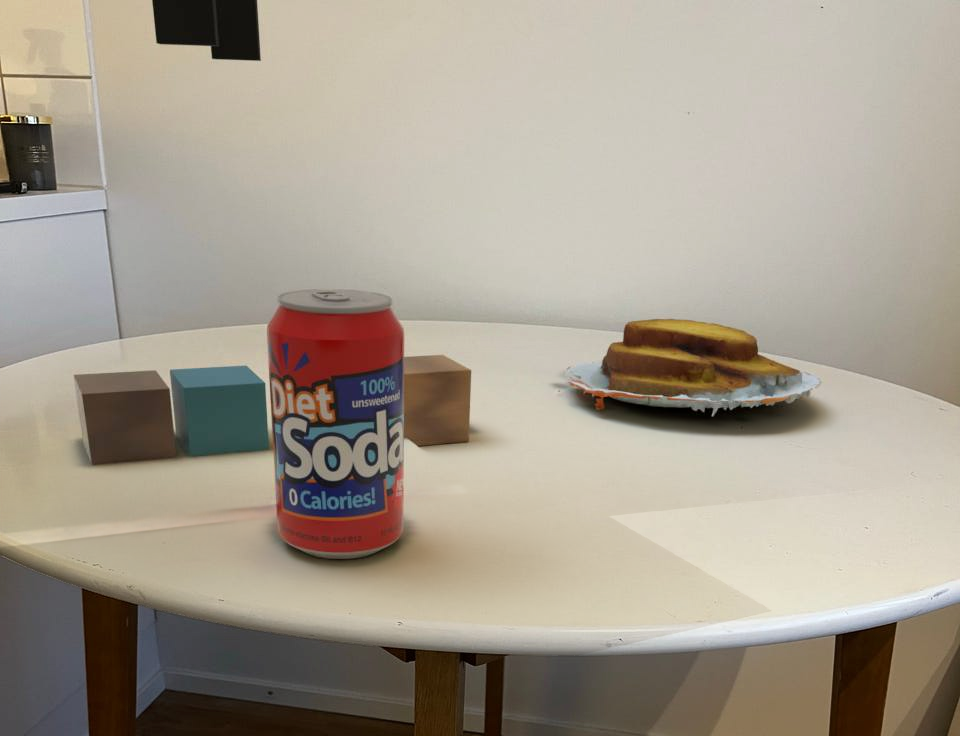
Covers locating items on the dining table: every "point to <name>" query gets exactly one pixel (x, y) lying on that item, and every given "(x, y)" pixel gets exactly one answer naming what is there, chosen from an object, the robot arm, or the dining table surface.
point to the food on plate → (689, 369)
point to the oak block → (436, 400)
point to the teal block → (219, 410)
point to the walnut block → (125, 416)
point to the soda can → (337, 421)
